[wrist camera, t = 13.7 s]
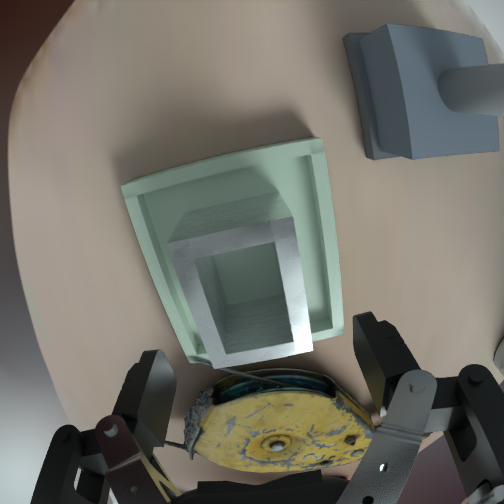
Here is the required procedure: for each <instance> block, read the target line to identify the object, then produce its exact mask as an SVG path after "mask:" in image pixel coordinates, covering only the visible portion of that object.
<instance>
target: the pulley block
mask: <svg viewBox="0 0 504 504" xmlns="http://www.w3.org/2000/svg"><path fill="white" fill-rule="evenodd" d="M191 360H193V361H195V362H198V363H201V364H204V365H207V366H209V367H212V368H213V365H212V364H211V363H208V362H204V361H201V360H194V359H191ZM217 369H219V370H222V371H226V372H229V373H232V374H234V375H232V376H229V377H226V378H223V379H220V380H219V381H218V382H217V383H215V384H214V385H212V386H210V387H209V388H207V389H206V390H205V391H204V392H202V391H200V397H198V398H197V399H196V400H197V402H196V404H195V405H194V406H192V408H191V409H190V410H188V411H187V417H186V418H185V419H184V420H185V429H184V435H185V441H184V444H178V443H174V442H169V441H165V443H164V444H167V445H169V446H174V447H177V448H181V449H184V450H186V451H187V452H189V454H190V459H191V460H193V455H194V453H197V454H199V455H201V456H203V457H204V458H206V459H208V460H210V461H212V462H214V463H216V464H218V465H221V466H224V467H227V468H230V469H235V470H240V471H248V472H260V473H266V472H287V471H300V470H310V469H319V468H328V467H335V466H341V465H345V464H349V463H352V462H355V461H358V460H360V459H362V458H363V456H364V454H365V452H366V450H367V448H368V446H369V444H370V442H371V440H372V438H373V436H374V434H375V432H376V430H377V428H374V425H373V423H372V420H371V415H370V414H369V413H368V412H367V411H366V409H365V408H364V407H363V406H362V405H360V404H359V403H358V402H357V401H356V400H355V399H354V398H353V397H351V396H350V395H349V394H348V393H347V392H346V391H345V390H344V389H342V388H341V387H340V386H339V385H338V384H337V383H336V382H335V381H334V380H333V379H332V378H330V377H329V376H327V375H324V374H321V373H316V372H312V371H307V370H300V369H286V368H275V369H261V370H255V371H248V372H239V371H235V370H232V369H228V368H225V367H224V368H217ZM431 433H433V432H427V433H423V439H422V440H424V439H426V438H427V437H429V436H430V434H431ZM185 443H186V444H185Z"/></svg>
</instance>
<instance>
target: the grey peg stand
mask: <svg viewBox="0 0 504 504" xmlns="http://www.w3.org/2000/svg"><path fill="white" fill-rule="evenodd" d="M343 41H344V44H345V48H346V52H347V56H348V60H349V64H350V69H351V73H352V78H353V82H354V87H355V92H356V97H357V102H358V107H359V113H360V118H361V124H362V130H363V137H364V143H365V150H366V158H369V159H372V160H378V159H385V158H393V157H400V156H402V157H405V158H409V159H412V160H413V159H421V158H429V157H438V156H448V155H458V154H469V153H481V152H495V151H499V134H498V123H497V116H503V117H504V64H492V65H489V64H488V60H487V55H486V51H485V47H484V43H483V39H482V38H478V37H473V36H469V35H465V34H460V33H455V32H450V31H444V30H438V29H432V28H425V27H417V26H408V25H397V24H386V25H384V26H382V27H380V28H379V29H377V30H375V31H373V32H372V33H349V34H347V35H346V36H345V37H343Z"/></svg>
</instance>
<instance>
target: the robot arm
mask: <svg viewBox="0 0 504 504" xmlns="http://www.w3.org/2000/svg"><path fill="white" fill-rule="evenodd" d="M353 346H354V352H355V356H356V359H357V361H358V363H359V366H360V368H361V371H362V373H363V376H364V378H365V381H366V383H367V386H368V388H369V391H370V393H371V396H372V399H373V401H374V404H375V406H376V409H377V412H378V414H379V417H382V416H385V417H384V419H383V422H382V424H381V426H379V427H378V428H377V430H376V432H375V434H374V436H373V438H372V440H371V442H370V444H369V446H368V448H367V450H366V452H365V454H364V456H363V458H362V460H361V461H360V463H359V465H358V467H357V469H356V471H355V472H354V474H353V476H352V478H351V480H350V481H349V480H346V479H343V478H338V477H332V476H322V474H321V469H320V470H314V471H309V472H304V473H298V474H291V475H288V476H285V477H282V478H279V479H276V480H273V481H271V482H268V483H264V484H261V485H250V484H243V483H236V482H230V481H198V486H197V489H194V490H191V491H188V492H186V493H184V494H182V493H181V492H180V491H179V490H178V489H177V488H176V486H175V485H174V484H173V482H172V481H171V479H170V478H169V476H168V475H167V474H166V472H165V471H164V469H163V467H162V466H161V464H160V463H159V461H158V460H157V458H156V456H155V455H154V454H153V448H154V447H164V443H165V438H166V433H167V428H168V423H169V419H170V414H171V409H172V404H173V400H174V395H175V391H176V377H175V374H174V372H173V370H172V368H171V366H170V364H169V362H168V360H167V359H166V357H165V355H164V353H163V351H162V350H160V349H159V350H149V351H144V352H143V353H142V356H141V358H140V361H139V363H135V364H134V365H133V366H132V368H131V369H130V370H129V371H128V373H127V376H126V378H125V382H124V383H123V386H122V390H121V391H120V393H119V396H118V399H117V401H116V404H115V407H114V409H113V412H112V415H109V416H106V417H104V418H102V419H101V420H100V421H99V422H98V423H97V425H96V427H95V429H91V430H87V431H82V432H80V431H79V430H78V429H77V428H76V427H75V426H73V425H64V426H62V427H60V428H59V429H58V430H57V431H56V432H55V434H54V436H53V438H52V441H51V443H50V446H49V449H48V451H47V454H46V457H45V460H44V463H43V466H42V468H41V471H40V474H39V477H38V480H37V483H36V487H35V490H34V493H33V496H32V500H31V503H30V504H107V501H108V496H109V491H110V487H111V489H112V492H113V494H114V496H115V498H116V500H117V502H118V504H396V502H397V500H398V498H399V496H400V494H401V492H402V489H403V487H404V485H405V483H406V480H407V478H408V476H409V473H410V471H411V468H412V466H413V463H414V461H415V458H416V456H417V453H418V450H419V448H420V445H421V442H422V439H423V433H427V432H438V431H443V433H444V435H445V438H446V440H447V443H448V445H449V448H450V451H451V453H452V456H453V459H454V461H455V464H456V467H457V470H458V472H459V476H460V478H461V481H462V484H463V487H464V491H465V494H466V497H467V499H465V500H464V501H463V502H462V504H504V393H503V391H502V390H501V388H500V387H499V385H498V383H497V382H496V380H495V378H494V377H493V375H492V374H491V372H490V371H489V370H488V369H487V368H486V367H484V366H482V365H479V364H471V365H468V366H466V367H464V368H463V369H462V370H461V371H460V373H459V375H458V376H455V377H446V378H436V377H434V376H433V375H432V374H431V373H429V372H428V371H425V370H421V368H420V367H419V365H418V363H417V362H416V360H415V358H414V357H413V355H412V353H411V352H410V350H409V348H408V347H407V345H406V344H405V343H404V340H403V339H402V337H400V334H399V332H398V331H397V329H396V328H395V326H393V325H392V324H390V323H389V322H387V321H386V320H384V321H380V322H378V321H377V320H376V318H375V316H374V315H373V313H372V312H371V311H370V312H366V313H362V314H358V315H354V316H353ZM494 364H495V366H496V367H497V368H498V369H499V371H500V372H501V373H502V375H503V376H504V338H503V340H502V341H501V343H500V345H499V347H498V349H497V351H496V354H495V357H494ZM78 468H80V469H81V474H80V477H79V481H78V485H77V489H76V490H75V488H74V481H75V477H76V474H77V470H78Z"/></svg>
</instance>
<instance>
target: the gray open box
mask: <svg viewBox="0 0 504 504" xmlns="http://www.w3.org/2000/svg"><path fill="white" fill-rule="evenodd" d="M271 242H272V244H273V249H274V254H275V259H276V264H277V269H278V274H279V279H280V284H281V289H282V295H277V296H272V297H267V298H263V299H258V300H253V301H248V302H243V303H238V304H233V305H228V303H227V300H226V297H225V293H224V290H223V287H222V283H221V280H220V277H219V273H218V270H217V267H216V263H215V260H214V256H213V255H215V254H219V253H224V252H229V251H233V250H238V249H243V248H247V247H252V246H257V245H261V244H266V243H271ZM166 245H167V248H168V251H169V254H170V257H171V260H172V263H173V265H174V268H175V271H176V274H177V277H178V279H179V282H180V285H181V288H182V290H183V293H184V296H185V298H186V301H187V304H188V306H189V309H190V312H191V314H192V317H193V319H194V322H195V324H196V327H197V329H198V332H199V334H200V337H201V339H202V342H203V344H204V347H205V349H206V351H207V354H208V356H209V358H210V361H211V363H212V365H213V368H214V369H217V368H224V367H231V366H237V365H243V364H249V363H255V362H260V361H266V360H271V359H276V358H281V357H286V356H291V355H295V354H300V353H304V352H309V351H313V345H312V337H311V329H310V322H309V314H308V307H307V300H306V293H305V286H304V280H303V273H302V267H301V260H300V254H299V248H298V242H297V236H296V230H295V224H294V218H293V215H292V213H291V212H290V210H289V208H288V206H287V205H286V203H285V201H284V199H283V198H282V196H281V194H280V193H279V192H274V193H269V194H264V195H260V196H255V197H250V198H246V199H241V200H237V201H232V202H228V203H223V204H219V205H215V206H211V207H206V208H202V209H198V210H194V211H190V212H186V213H184V214H183V216H182V218H181V219H180V221H179V223H178V224H177V226H176V228H175V230H174V231H173V233H172V235H171V237H170V238H169V240H168V242H167V244H166Z"/></svg>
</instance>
